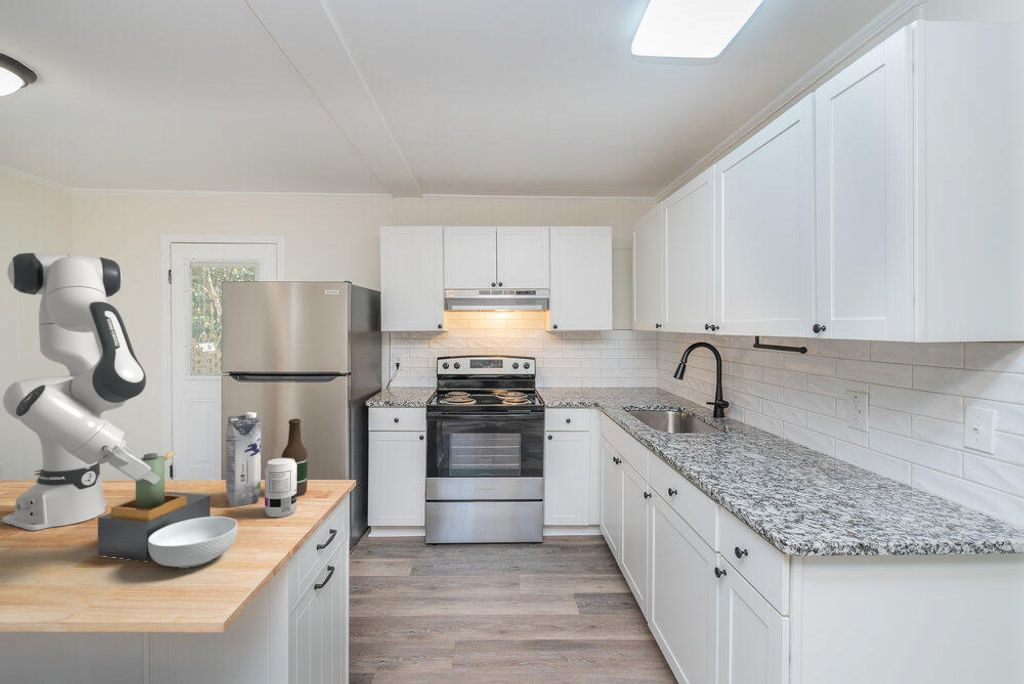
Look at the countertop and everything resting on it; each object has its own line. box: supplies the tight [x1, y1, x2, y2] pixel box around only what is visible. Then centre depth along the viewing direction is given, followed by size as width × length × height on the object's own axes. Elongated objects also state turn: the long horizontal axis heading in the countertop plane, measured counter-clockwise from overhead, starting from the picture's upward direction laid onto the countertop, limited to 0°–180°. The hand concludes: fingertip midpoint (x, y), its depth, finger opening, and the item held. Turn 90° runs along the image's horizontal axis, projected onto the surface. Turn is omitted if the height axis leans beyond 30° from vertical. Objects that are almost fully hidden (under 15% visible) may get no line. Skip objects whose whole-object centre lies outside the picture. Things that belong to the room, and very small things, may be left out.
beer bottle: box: [280, 418, 308, 497], centre depth 152 cm, size 8×8×24 cm
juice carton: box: [225, 411, 262, 508], centre depth 145 cm, size 9×10×27 cm
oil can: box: [135, 450, 176, 509], centre depth 114 cm, size 8×6×12 cm
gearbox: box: [97, 491, 211, 562], centre depth 117 cm, size 16×18×11 cm
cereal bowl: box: [148, 516, 239, 569], centre depth 108 cm, size 17×17×7 cm
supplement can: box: [264, 457, 298, 518], centre depth 136 cm, size 8×8×15 cm
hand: (153, 477), depth 114 cm, fingers closed on oil can, 5 cm apart
